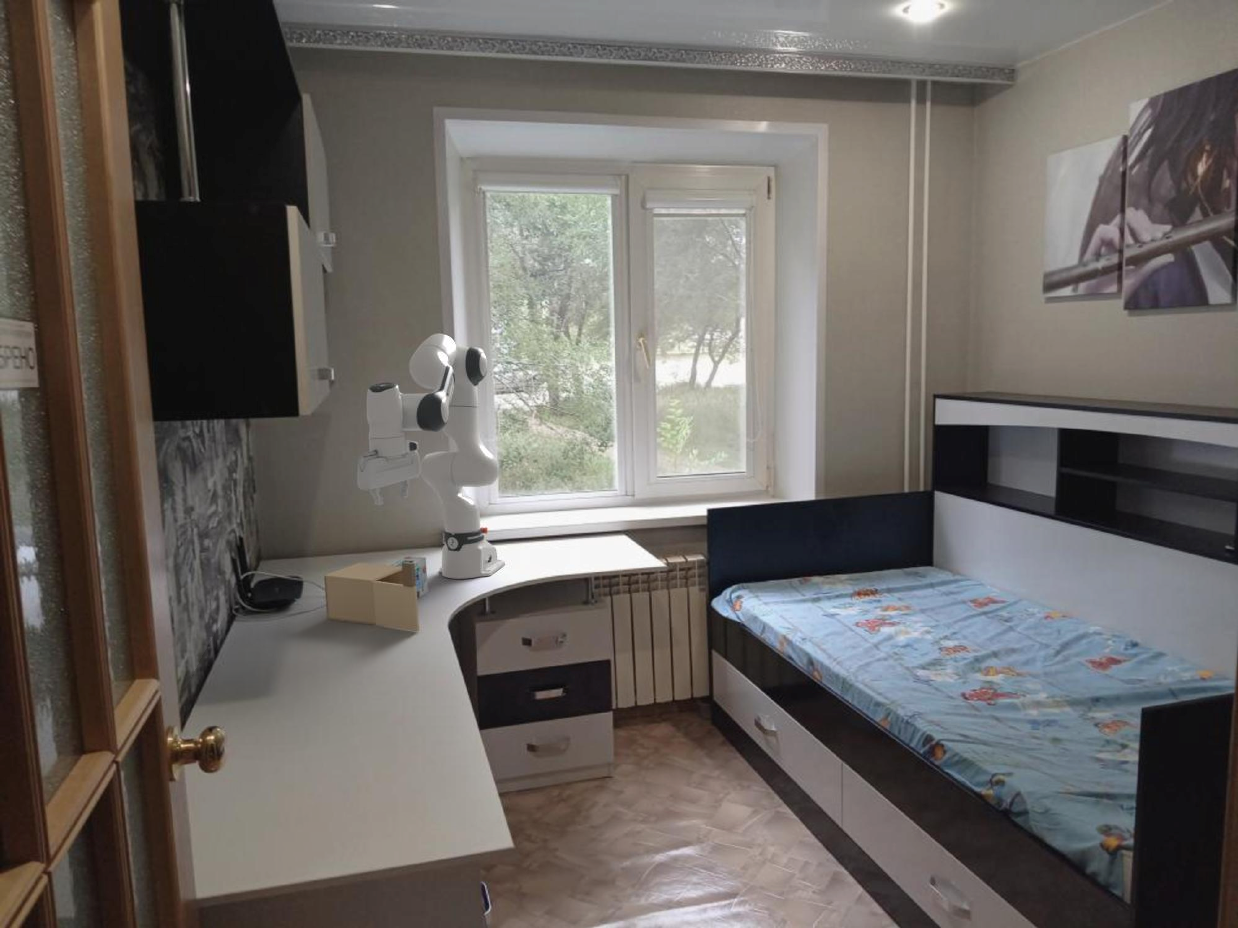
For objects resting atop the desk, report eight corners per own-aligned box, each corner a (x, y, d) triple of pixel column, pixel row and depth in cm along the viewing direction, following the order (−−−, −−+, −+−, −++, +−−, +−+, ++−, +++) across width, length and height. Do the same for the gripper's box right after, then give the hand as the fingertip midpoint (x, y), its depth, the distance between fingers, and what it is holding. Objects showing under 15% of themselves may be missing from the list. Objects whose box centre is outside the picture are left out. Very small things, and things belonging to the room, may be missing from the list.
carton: (362, 603, 240) (359, 562, 239) (408, 609, 234) (406, 567, 232) (327, 618, 228) (324, 575, 226) (375, 625, 221) (372, 580, 220)
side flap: (419, 630, 215) (415, 563, 213) (416, 632, 214) (412, 564, 212) (378, 623, 222) (373, 557, 219) (374, 624, 221) (370, 558, 218)
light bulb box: (412, 603, 240) (410, 566, 239) (390, 602, 241) (388, 565, 240) (428, 592, 250) (426, 556, 249) (407, 591, 252) (405, 556, 250)
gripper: (368, 454, 205) (373, 510, 207) (422, 442, 223) (426, 494, 225) (348, 453, 207) (353, 508, 210) (403, 441, 225) (407, 492, 228)
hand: (391, 501), depth 217 cm, fingers open, 8 cm apart
